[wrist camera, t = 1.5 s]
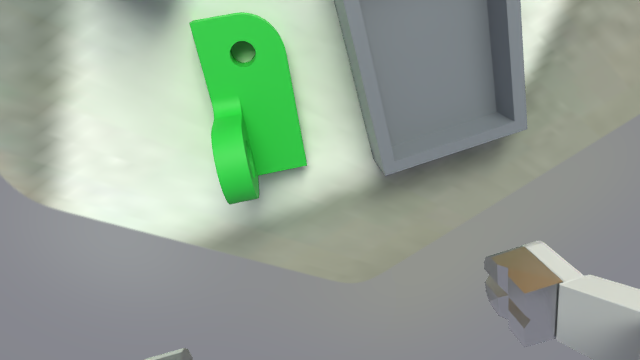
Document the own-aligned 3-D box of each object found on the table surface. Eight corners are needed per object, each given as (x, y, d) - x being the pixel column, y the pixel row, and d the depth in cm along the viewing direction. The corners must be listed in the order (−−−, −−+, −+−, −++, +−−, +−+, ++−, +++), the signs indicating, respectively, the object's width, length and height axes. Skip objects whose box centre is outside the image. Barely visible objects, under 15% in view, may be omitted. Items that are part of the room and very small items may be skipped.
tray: (485, -110, 29) (513, -120, 26) (503, 116, 37) (527, 129, 34) (320, -56, 29) (328, -61, 26) (373, 159, 37) (385, 175, 33)
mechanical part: (304, 156, 36) (317, 200, 29) (234, 170, 35) (230, 218, 28) (275, 5, 30) (284, 14, 23) (193, 20, 30) (175, 33, 23)
